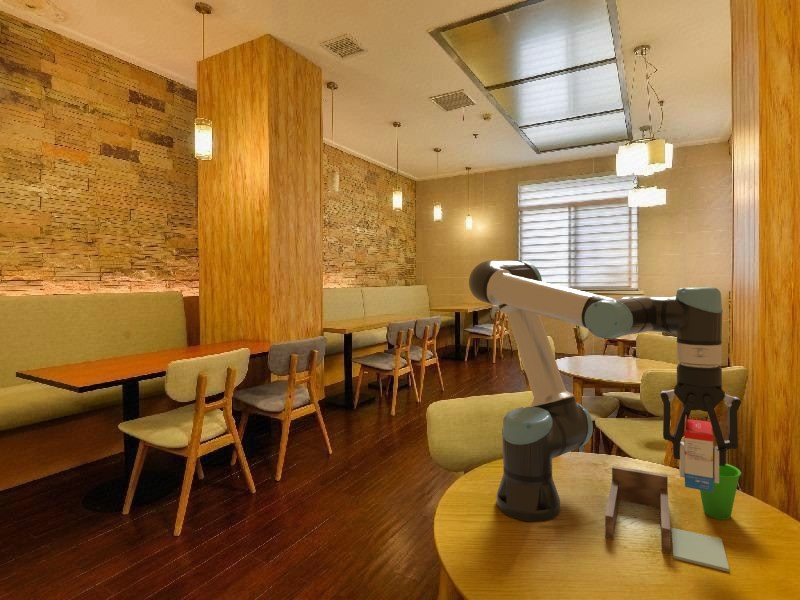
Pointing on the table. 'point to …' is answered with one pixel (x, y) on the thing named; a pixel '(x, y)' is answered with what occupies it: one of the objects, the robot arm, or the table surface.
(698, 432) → the ink box
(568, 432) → the robot arm
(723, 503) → the cup
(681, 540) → the pad
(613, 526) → the slot
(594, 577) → the table surface
